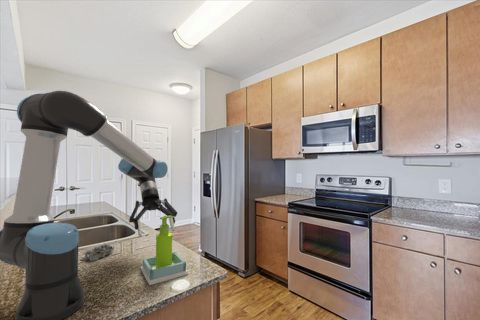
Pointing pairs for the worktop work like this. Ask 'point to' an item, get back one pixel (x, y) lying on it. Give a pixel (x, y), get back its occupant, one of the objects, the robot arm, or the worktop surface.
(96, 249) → the egg carton
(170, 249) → the soap dispenser
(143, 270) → the cradle
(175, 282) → the worktop surface
